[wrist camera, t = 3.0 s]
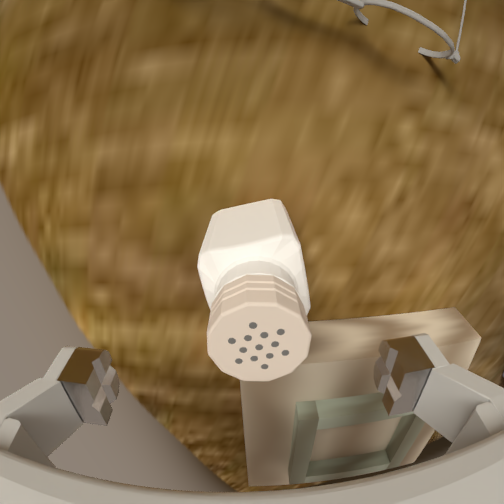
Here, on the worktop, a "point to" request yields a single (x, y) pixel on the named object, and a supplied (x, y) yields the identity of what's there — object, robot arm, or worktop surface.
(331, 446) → the block
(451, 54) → the eyeglasses
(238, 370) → the pepper shaker
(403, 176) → the worktop surface
